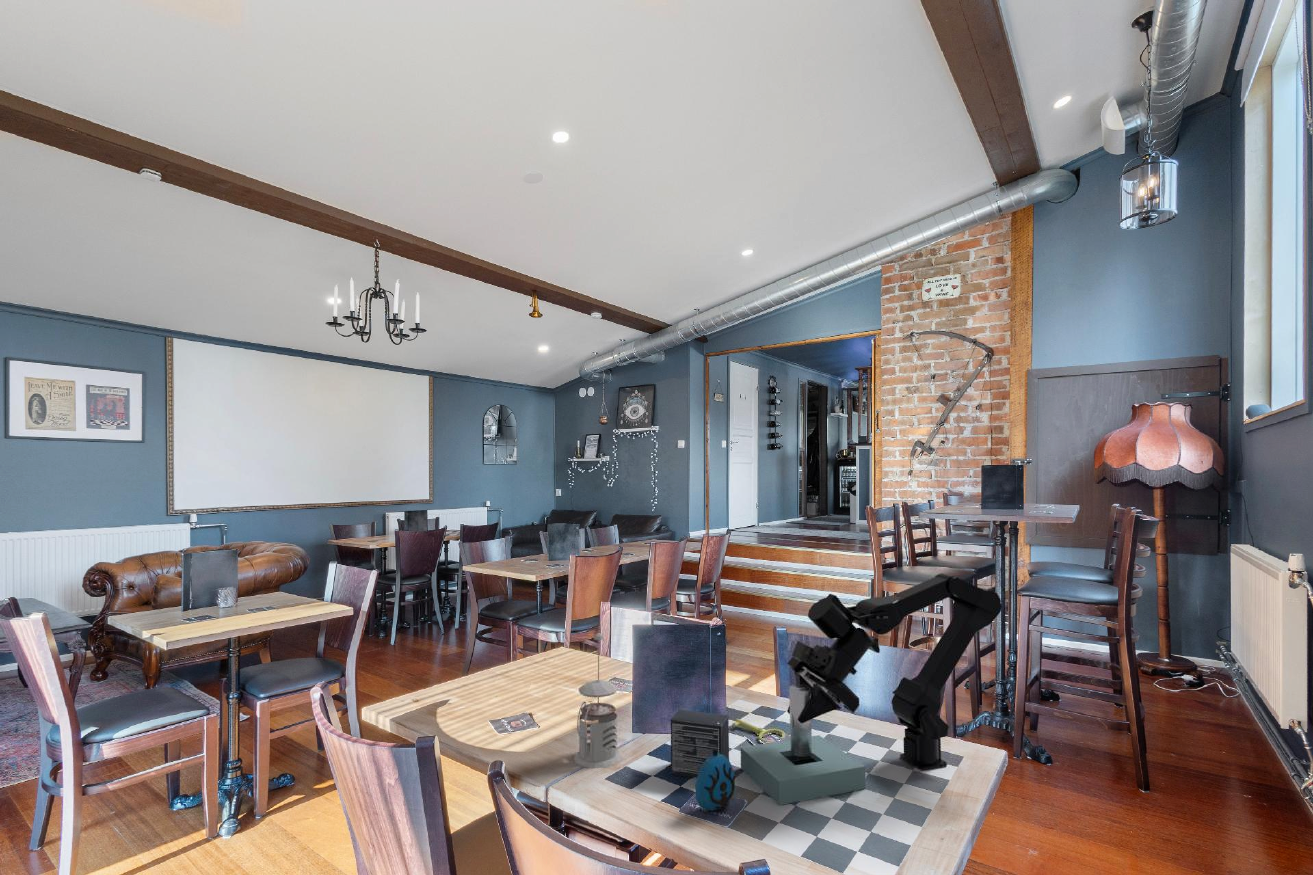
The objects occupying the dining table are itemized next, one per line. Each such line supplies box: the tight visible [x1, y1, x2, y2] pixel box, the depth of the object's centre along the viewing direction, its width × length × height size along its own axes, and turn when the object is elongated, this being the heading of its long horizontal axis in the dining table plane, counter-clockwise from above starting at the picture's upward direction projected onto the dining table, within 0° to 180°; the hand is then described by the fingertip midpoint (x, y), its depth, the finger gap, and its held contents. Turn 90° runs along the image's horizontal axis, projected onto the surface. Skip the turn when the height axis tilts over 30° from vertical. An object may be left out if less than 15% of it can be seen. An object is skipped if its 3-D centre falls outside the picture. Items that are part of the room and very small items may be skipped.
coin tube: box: [788, 684, 813, 757], centre depth 123 cm, size 4×4×12 cm
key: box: [731, 718, 786, 742], centre depth 142 cm, size 7×12×2 cm, turn 63°
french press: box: [573, 632, 623, 769], centre depth 131 cm, size 10×12×25 cm
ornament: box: [694, 749, 736, 811], centre depth 111 cm, size 8×5×10 cm, turn 126°
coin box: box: [740, 734, 867, 806], centre depth 122 cm, size 18×15×4 cm
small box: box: [669, 709, 730, 779], centre depth 125 cm, size 11×6×10 cm, turn 71°
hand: (794, 717), depth 122 cm, fingers closed on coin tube, 4 cm apart
